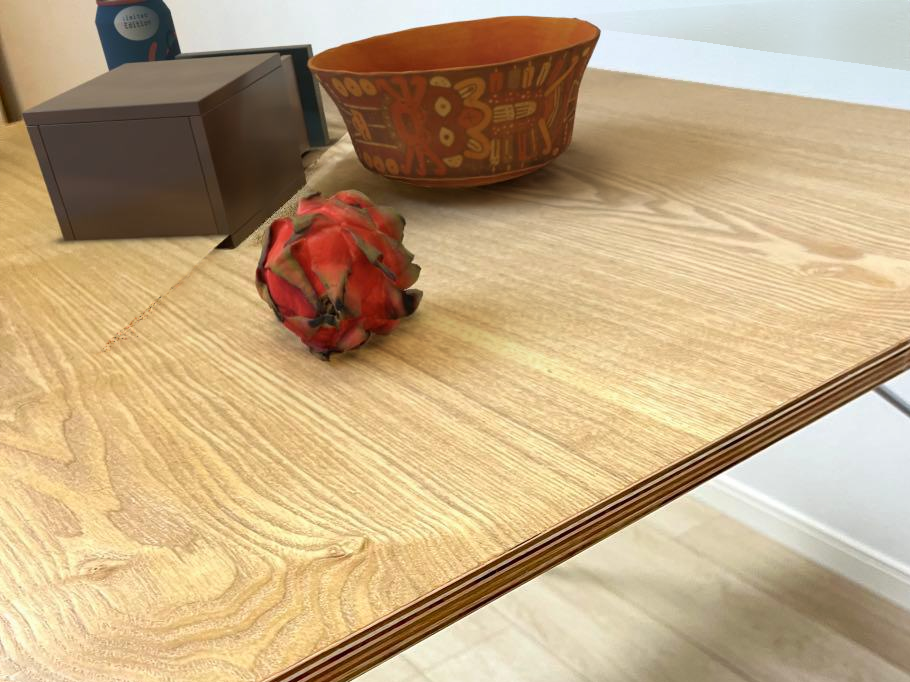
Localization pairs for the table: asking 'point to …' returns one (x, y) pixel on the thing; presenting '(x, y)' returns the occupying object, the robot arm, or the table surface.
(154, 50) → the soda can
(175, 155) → the cabinet
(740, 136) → the table surface
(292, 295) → the dragon fruit
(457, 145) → the bowl
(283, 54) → the drawer
